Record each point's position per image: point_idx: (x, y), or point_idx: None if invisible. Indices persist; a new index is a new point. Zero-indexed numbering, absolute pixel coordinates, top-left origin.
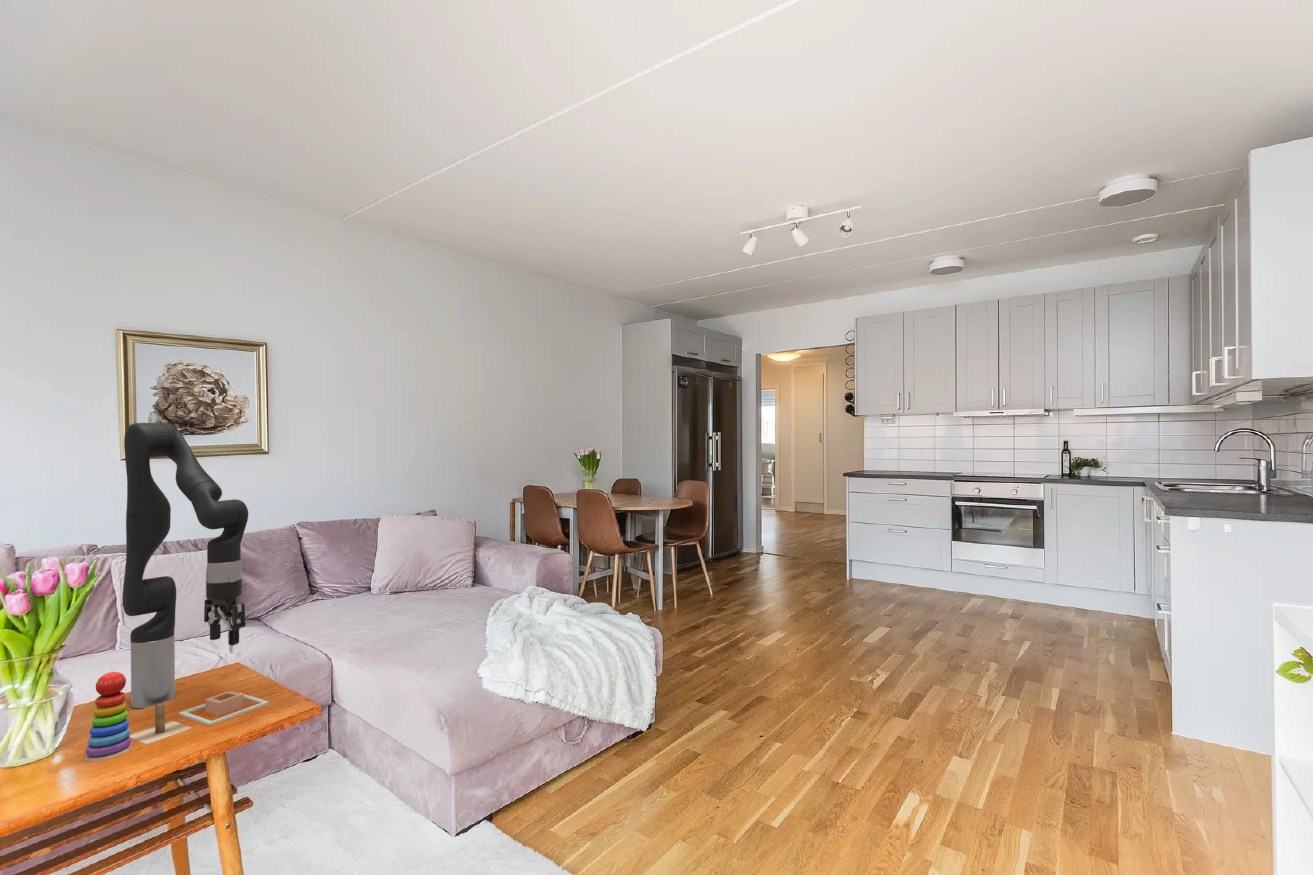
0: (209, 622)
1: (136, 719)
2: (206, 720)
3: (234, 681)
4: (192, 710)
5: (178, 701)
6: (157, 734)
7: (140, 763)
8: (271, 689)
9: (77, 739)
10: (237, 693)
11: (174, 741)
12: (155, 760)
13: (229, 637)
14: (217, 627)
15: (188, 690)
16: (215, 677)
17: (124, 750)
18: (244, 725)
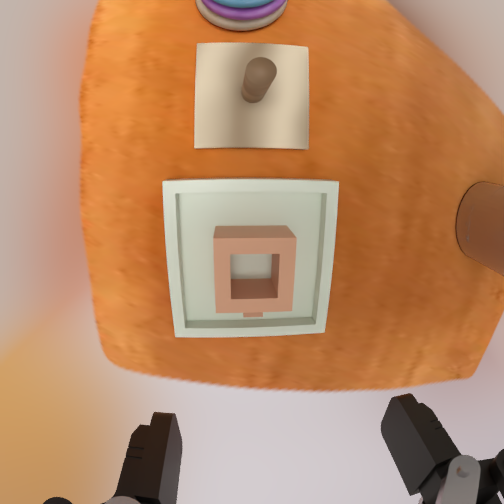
0: (464, 476)
1: (430, 144)
2: (192, 187)
3: (423, 356)
4: (324, 211)
5: (442, 246)
6: (238, 80)
7: (139, 24)
8: (303, 382)
9: (422, 40)
10: (244, 309)
11: (191, 104)
12: (122, 45)
13: (149, 453)
14: (411, 472)
15: (469, 286)
16: (469, 341)
17: (201, 4)
18: (127, 245)
